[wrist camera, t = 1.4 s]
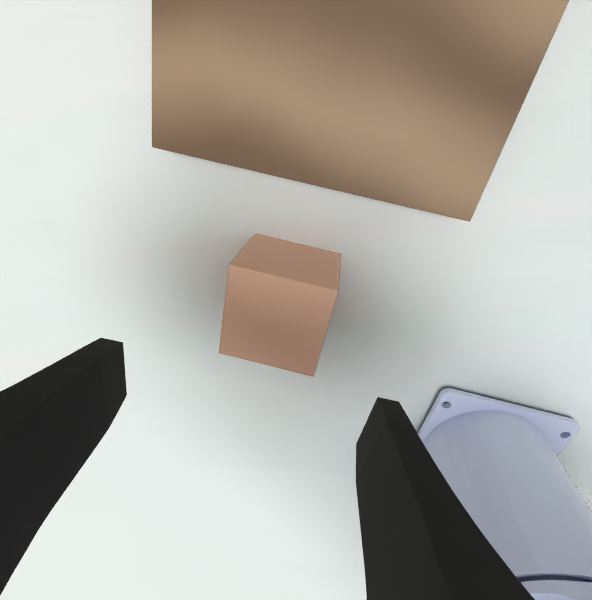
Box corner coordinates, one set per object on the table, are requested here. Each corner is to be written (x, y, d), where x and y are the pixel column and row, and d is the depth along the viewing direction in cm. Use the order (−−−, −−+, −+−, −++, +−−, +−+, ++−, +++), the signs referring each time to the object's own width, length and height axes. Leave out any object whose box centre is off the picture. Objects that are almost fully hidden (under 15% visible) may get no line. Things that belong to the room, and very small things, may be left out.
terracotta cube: (320, 325, 20) (313, 376, 16) (245, 307, 20) (219, 352, 16) (341, 253, 18) (338, 291, 14) (256, 233, 18) (229, 264, 14)
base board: (460, 213, 16) (469, 221, 15) (168, 145, 16) (151, 146, 15) (609, -135, 11) (646, -171, 9) (175, -221, 11) (151, -268, 10)
